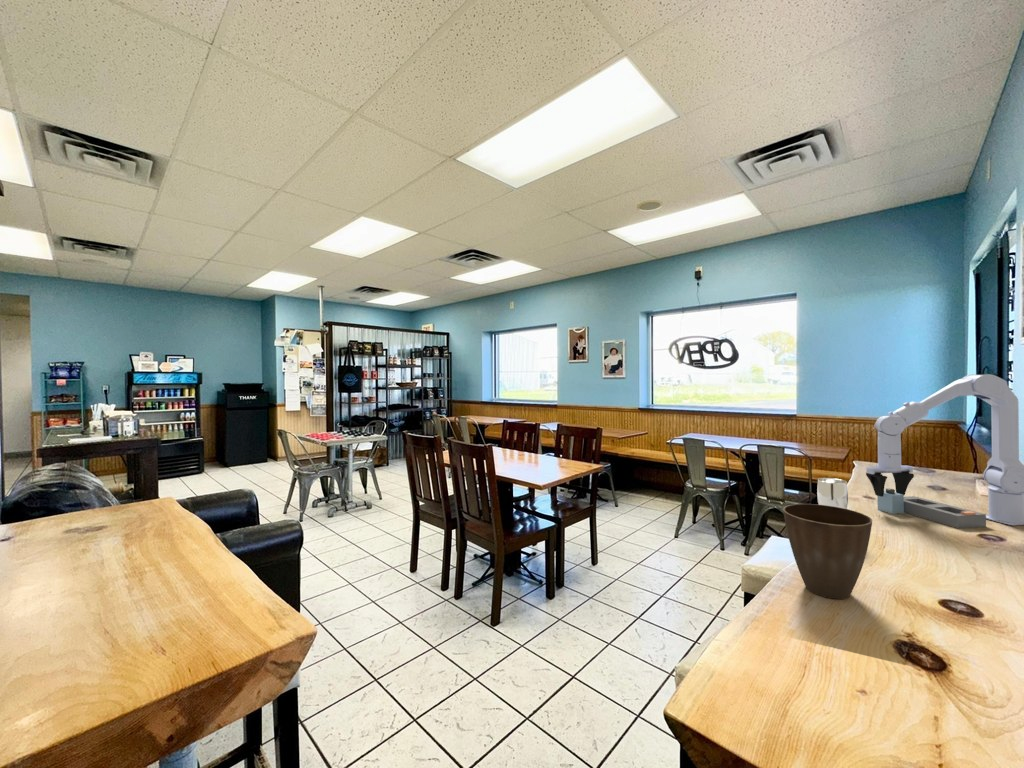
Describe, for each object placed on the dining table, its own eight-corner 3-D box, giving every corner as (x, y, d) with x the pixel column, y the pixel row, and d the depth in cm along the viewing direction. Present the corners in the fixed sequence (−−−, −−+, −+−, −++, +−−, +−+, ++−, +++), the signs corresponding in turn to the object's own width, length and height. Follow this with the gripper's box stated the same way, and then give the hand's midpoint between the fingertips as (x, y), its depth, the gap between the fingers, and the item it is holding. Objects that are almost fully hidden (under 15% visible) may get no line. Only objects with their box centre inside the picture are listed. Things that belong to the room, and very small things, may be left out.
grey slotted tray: (914, 506, 144) (914, 494, 144) (986, 526, 124) (985, 512, 124) (889, 508, 143) (889, 495, 143) (958, 528, 123) (957, 513, 123)
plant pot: (783, 569, 100) (782, 500, 100) (866, 583, 92) (864, 508, 92) (785, 597, 87) (784, 518, 87) (881, 616, 79) (880, 530, 79)
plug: (888, 508, 142) (888, 487, 142) (903, 513, 137) (903, 490, 137) (877, 509, 142) (877, 487, 142) (892, 514, 137) (892, 491, 137)
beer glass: (838, 529, 124) (837, 477, 124) (855, 538, 117) (853, 483, 117) (812, 529, 125) (811, 477, 125) (827, 538, 118) (826, 483, 118)
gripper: (897, 450, 144) (897, 491, 144) (857, 452, 143) (858, 493, 143) (919, 454, 137) (919, 496, 137) (877, 455, 136) (878, 498, 136)
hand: (889, 495), depth 139 cm, fingers open, 7 cm apart
